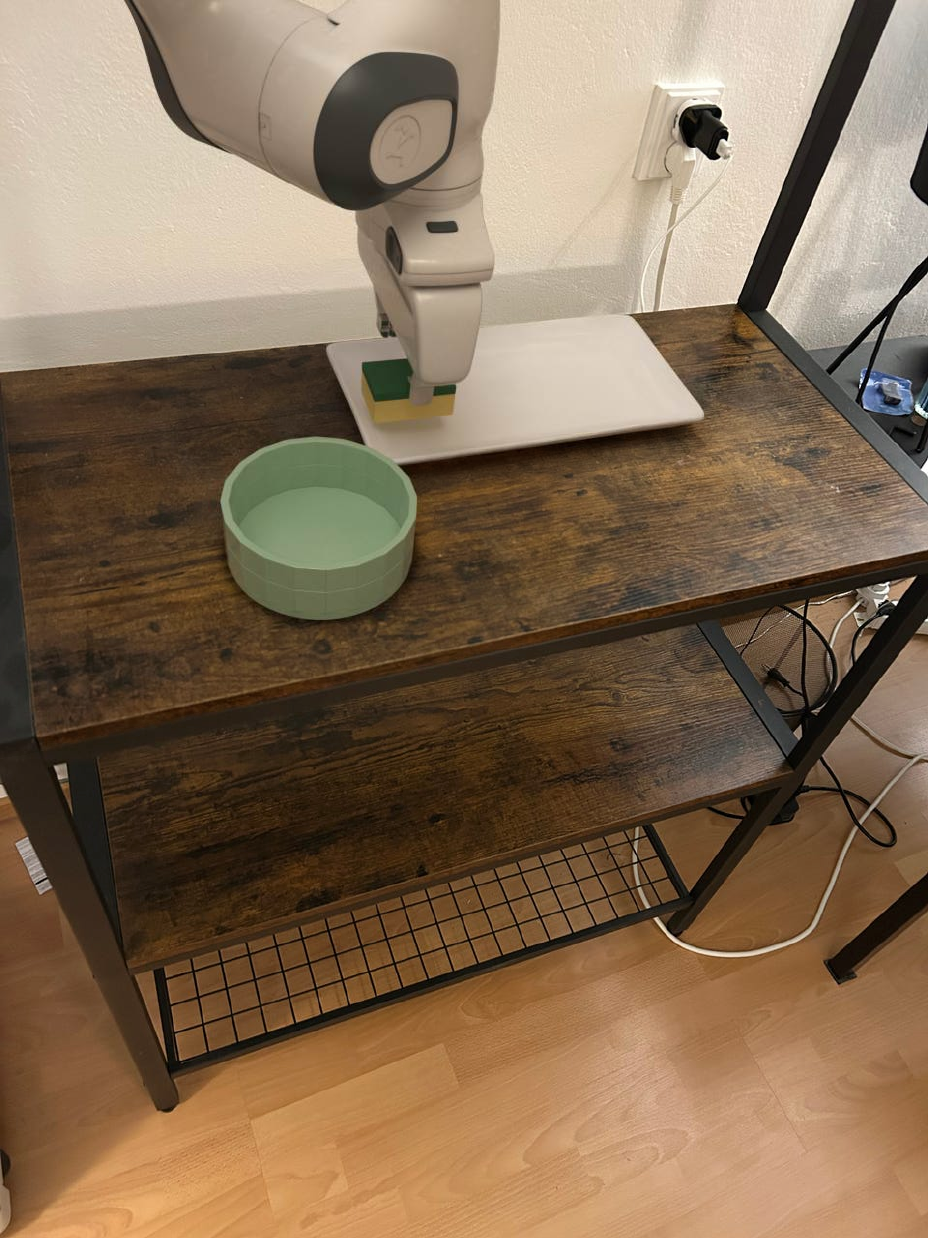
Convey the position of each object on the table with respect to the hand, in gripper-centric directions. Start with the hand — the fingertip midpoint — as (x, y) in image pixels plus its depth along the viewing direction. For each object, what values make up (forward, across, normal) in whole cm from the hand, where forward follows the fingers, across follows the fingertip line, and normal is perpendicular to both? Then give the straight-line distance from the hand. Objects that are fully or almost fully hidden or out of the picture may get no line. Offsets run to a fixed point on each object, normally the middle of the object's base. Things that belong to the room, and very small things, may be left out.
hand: (402, 365), depth 80 cm
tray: (+8, -2, +12) cm, 14 cm away
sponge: (+4, 0, +1) cm, 4 cm away
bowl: (+8, +12, -10) cm, 17 cm away
